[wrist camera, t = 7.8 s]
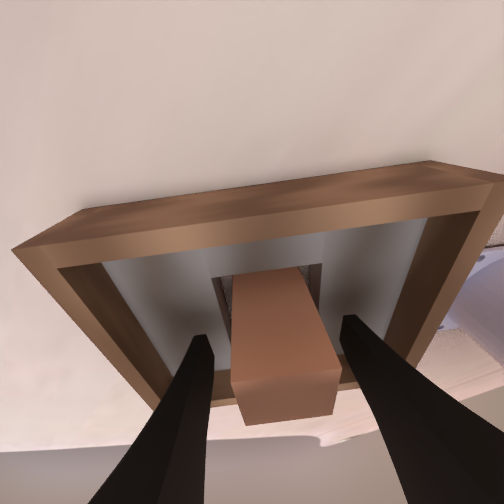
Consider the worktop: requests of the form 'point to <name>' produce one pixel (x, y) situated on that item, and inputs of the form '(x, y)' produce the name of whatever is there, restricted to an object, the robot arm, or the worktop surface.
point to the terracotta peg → (280, 349)
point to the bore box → (268, 262)
